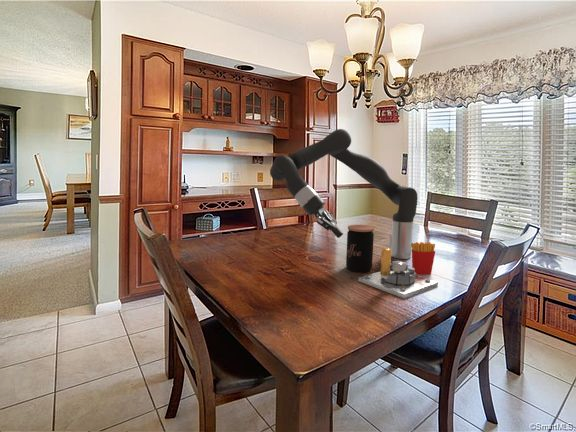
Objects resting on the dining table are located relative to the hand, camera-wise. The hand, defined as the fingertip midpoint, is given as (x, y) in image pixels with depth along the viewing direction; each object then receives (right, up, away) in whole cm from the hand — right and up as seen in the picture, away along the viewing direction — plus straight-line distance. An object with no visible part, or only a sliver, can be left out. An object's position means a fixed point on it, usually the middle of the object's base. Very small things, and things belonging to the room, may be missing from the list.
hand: (340, 236), depth 124 cm
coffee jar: (+11, -15, +21) cm, 28 cm away
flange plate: (+22, -18, +4) cm, 28 cm away
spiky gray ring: (+20, -16, +2) cm, 26 cm away
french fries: (+35, -16, +16) cm, 42 cm away
